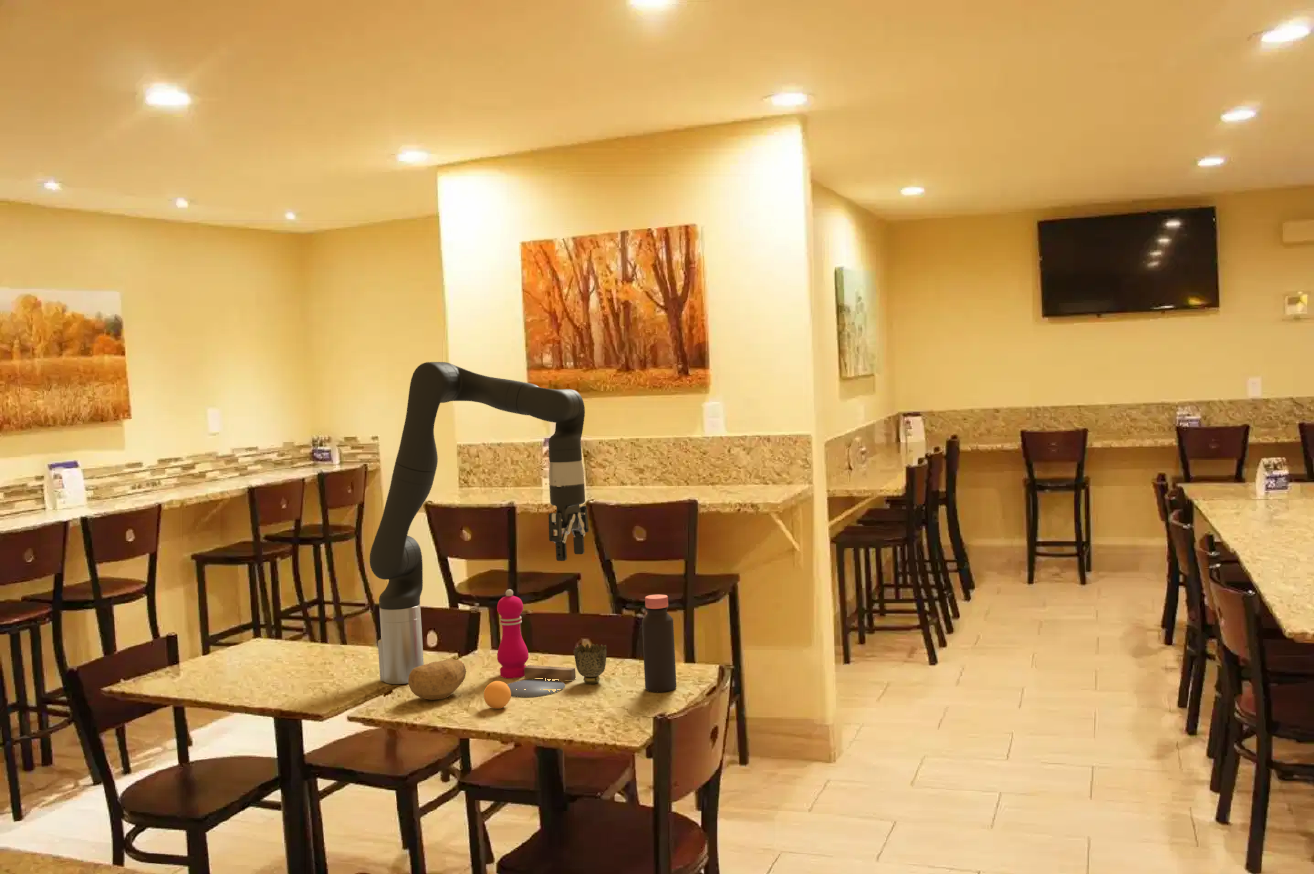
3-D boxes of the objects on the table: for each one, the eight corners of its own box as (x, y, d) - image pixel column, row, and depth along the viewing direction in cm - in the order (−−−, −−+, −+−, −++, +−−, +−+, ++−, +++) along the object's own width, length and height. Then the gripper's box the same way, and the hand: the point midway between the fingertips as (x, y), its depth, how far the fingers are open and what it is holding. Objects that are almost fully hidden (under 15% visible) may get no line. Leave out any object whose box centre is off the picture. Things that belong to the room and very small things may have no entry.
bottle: (648, 683, 237) (644, 593, 236) (679, 684, 235) (674, 593, 234) (642, 692, 230) (637, 599, 229) (673, 693, 229) (668, 599, 228)
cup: (603, 687, 236) (601, 651, 235) (571, 687, 237) (569, 651, 237) (612, 678, 243) (610, 642, 243) (580, 677, 245) (578, 643, 244)
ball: (479, 711, 223) (477, 684, 222) (493, 703, 228) (491, 677, 227) (502, 713, 220) (501, 685, 220) (516, 705, 226) (515, 678, 225)
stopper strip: (524, 678, 247) (524, 667, 247) (529, 675, 248) (528, 665, 248) (571, 681, 242) (571, 670, 242) (575, 678, 244) (575, 667, 244)
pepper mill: (535, 672, 251) (531, 587, 250) (515, 680, 245) (511, 593, 244) (512, 669, 255) (507, 585, 254) (491, 677, 249) (486, 591, 248)
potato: (479, 692, 236) (477, 656, 236) (427, 709, 226) (425, 671, 225) (450, 686, 243) (448, 651, 242) (399, 702, 232) (396, 665, 232)
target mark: (489, 695, 234) (488, 694, 234) (520, 677, 247) (520, 677, 247) (546, 699, 229) (546, 698, 229) (575, 681, 242) (575, 680, 242)
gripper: (566, 479, 240) (569, 551, 240) (535, 485, 227) (539, 562, 227) (596, 478, 237) (600, 552, 238) (567, 485, 224) (571, 563, 224)
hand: (570, 557), depth 232 cm, fingers open, 8 cm apart
